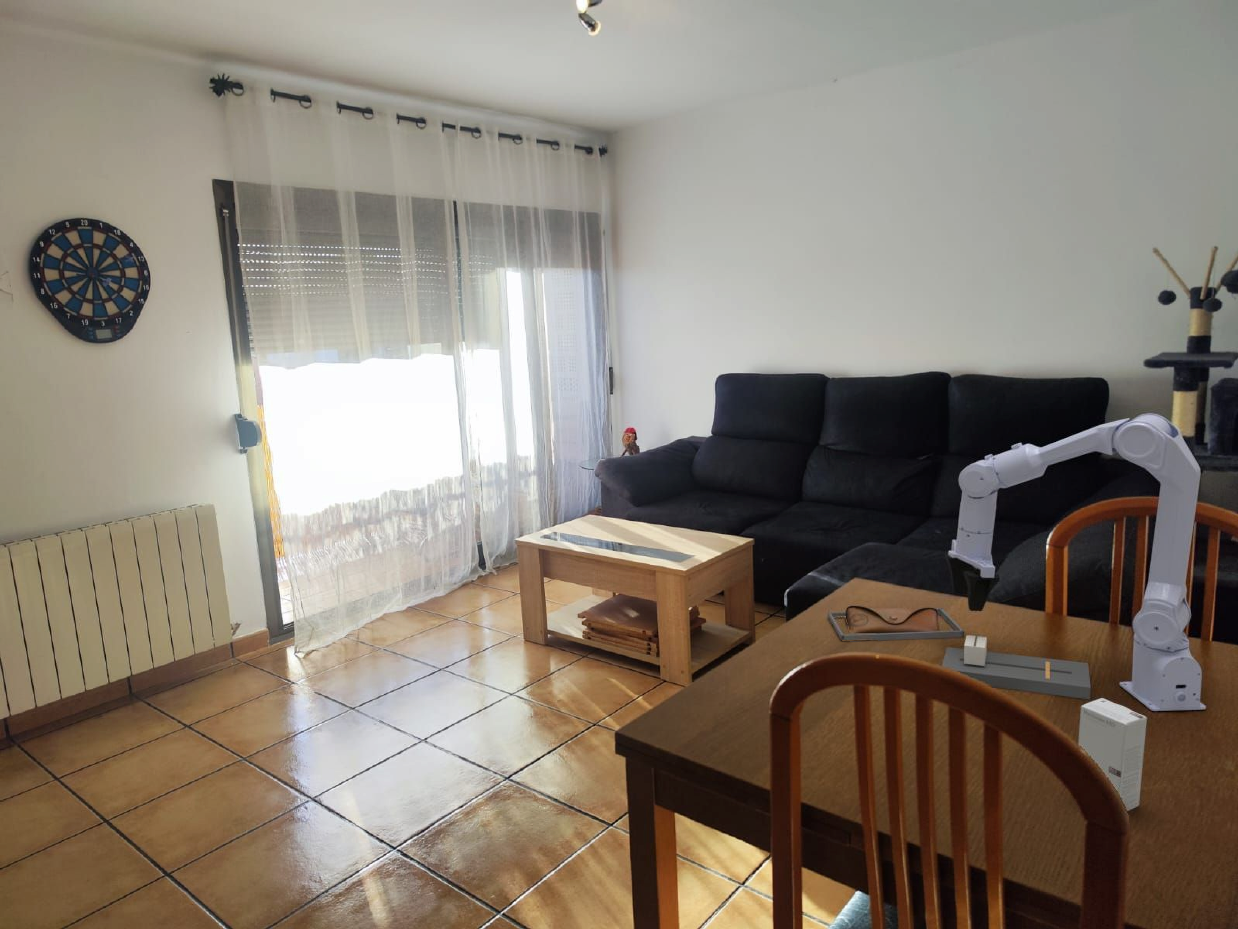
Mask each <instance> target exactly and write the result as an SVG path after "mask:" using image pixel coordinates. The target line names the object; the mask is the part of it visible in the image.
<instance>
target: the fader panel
mask: <svg viewBox="0 0 1238 929" xmlns="http://www.w3.org/2000/svg"><path fill="white" fill-rule="evenodd" d="M942 666H943V667H948V668H950V669H952V670H955V671H958V672H960V673H962V674H965V675H968V676H969V677H971V678H975V679H977V680H979V681H982V682H985V683H986V684H989V685H991V686H992V687H991V688H999V689H1006V690H1007V689H1008V690H1015V691H1021V692H1029V693H1036V694H1037V693H1038V694H1043V695H1044V694H1045V695H1051V696H1059V697H1060V696H1061V697H1066V698H1067V697H1068V698H1074V699H1081V700H1083V699H1084V700H1089V701H1090V700H1091V691H1092V690H1091V678H1090V669H1089V663H1088V662H1081V661H1080V662H1079V661H1072V660H1071V661H1070V660H1064V659H1063V660H1062V659H1056V658H1055V659H1054V658H1047V657H1037V656H1028V655H1020V654H1011V653H1003V652H1002V653H1000V652H992V651H987V655H986V661H985V666H980V665H972V664H964V648H958V647H949V646H946V650H945V654H944V656H943V659H942V664H941V667H942Z"/></svg>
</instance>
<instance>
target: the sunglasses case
mask: <svg viewBox="0 0 1238 929" xmlns="http://www.w3.org/2000/svg"><path fill="white" fill-rule="evenodd" d="M845 612H846V618H845V620H846V619H847V623H848V626H849V629H850V630H852V631H853V632H854V633H876V634H878V633H905V632H932V631H941V630H940V627H939V620H938V616H939V615H937V610H936V609H935V607H932V606H931V607H929V606H928V607H919V608H918V607H915V608H914V607H898V606H897V607H896V606H895V607H891V606H863V605H850V606H847V607H846V610H845ZM847 623H846V624H847Z"/></svg>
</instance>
